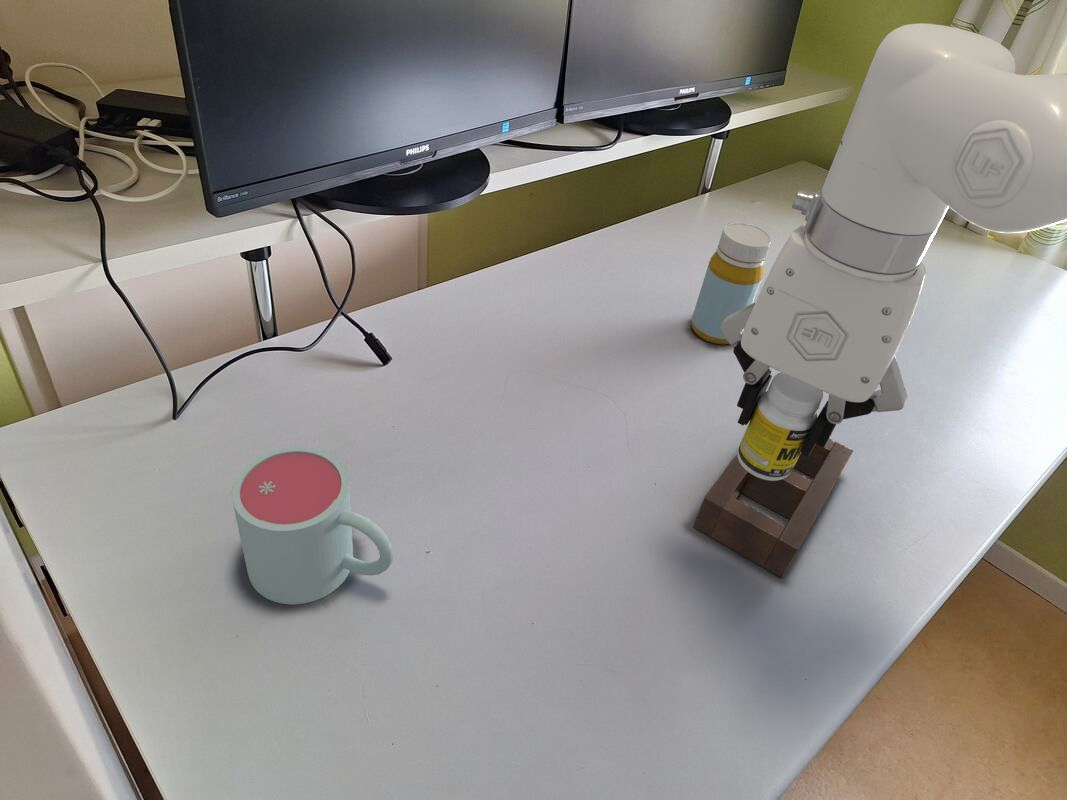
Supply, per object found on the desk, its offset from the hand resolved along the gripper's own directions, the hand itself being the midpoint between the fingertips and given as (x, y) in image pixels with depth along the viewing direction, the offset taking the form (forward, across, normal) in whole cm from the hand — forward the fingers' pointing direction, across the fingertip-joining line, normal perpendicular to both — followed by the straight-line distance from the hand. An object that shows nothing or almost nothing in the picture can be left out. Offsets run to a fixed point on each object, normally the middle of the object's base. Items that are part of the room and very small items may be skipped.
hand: (778, 429), depth 62 cm
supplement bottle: (+4, 0, 0) cm, 4 cm away
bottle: (+18, -17, +37) cm, 44 cm away
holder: (+18, +1, +12) cm, 22 cm away
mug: (+18, -29, -24) cm, 42 cm away
